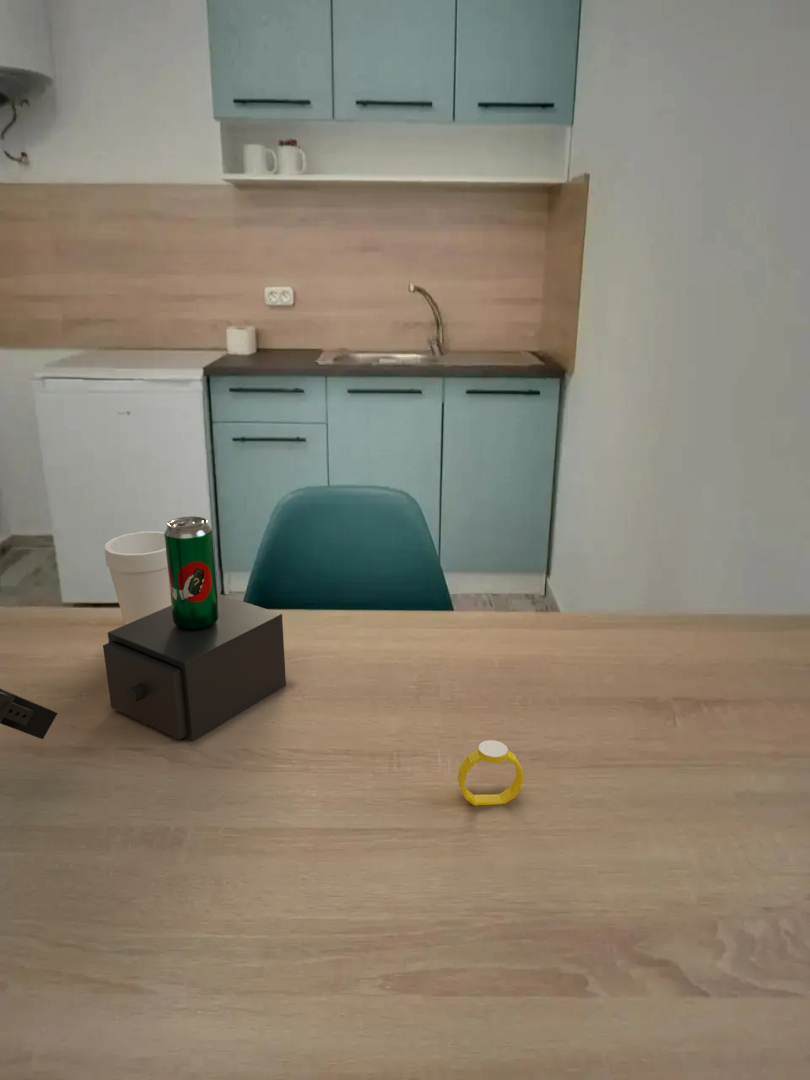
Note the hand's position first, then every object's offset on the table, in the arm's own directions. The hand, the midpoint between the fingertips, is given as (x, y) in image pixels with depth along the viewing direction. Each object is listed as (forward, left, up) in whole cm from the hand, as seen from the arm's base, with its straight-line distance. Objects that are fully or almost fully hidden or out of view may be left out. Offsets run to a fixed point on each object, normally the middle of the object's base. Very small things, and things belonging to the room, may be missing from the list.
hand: (45, 723), depth 80 cm
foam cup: (-19, +27, -6) cm, 34 cm away
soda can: (0, +19, +3) cm, 19 cm away
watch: (+37, +21, -6) cm, 43 cm away
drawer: (0, +17, -5) cm, 18 cm away
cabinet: (0, +19, -6) cm, 20 cm away
